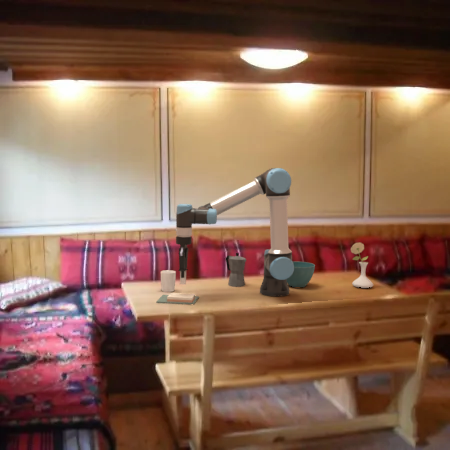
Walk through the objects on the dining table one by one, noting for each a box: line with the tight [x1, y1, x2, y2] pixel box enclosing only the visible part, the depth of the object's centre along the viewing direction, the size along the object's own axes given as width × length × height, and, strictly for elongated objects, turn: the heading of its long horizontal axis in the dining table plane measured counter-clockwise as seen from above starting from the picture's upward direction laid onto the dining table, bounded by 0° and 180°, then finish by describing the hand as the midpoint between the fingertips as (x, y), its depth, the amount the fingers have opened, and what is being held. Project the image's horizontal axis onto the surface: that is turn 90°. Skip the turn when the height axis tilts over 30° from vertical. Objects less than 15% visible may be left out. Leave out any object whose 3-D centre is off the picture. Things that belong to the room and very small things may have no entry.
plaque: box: [167, 292, 196, 303], centre depth 288 cm, size 12×2×9 cm
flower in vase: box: [350, 242, 374, 289], centre depth 330 cm, size 13×11×25 cm
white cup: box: [160, 269, 177, 293], centre depth 310 cm, size 8×8×10 cm
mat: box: [156, 294, 199, 305], centre depth 290 cm, size 18×15×1 cm
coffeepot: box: [225, 252, 247, 288], centre depth 328 cm, size 15×9×18 cm, turn 44°
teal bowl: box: [286, 261, 316, 288], centre depth 329 cm, size 18×18×12 cm
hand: (182, 284), depth 292 cm, fingers closed
